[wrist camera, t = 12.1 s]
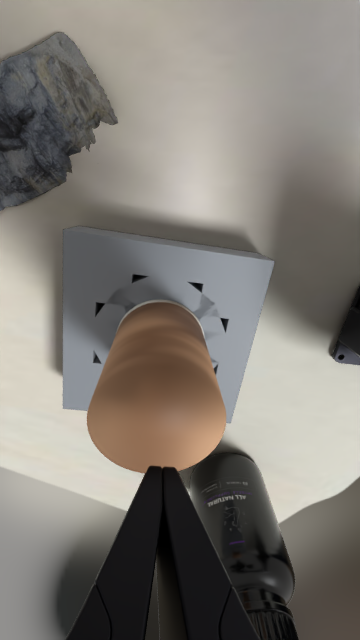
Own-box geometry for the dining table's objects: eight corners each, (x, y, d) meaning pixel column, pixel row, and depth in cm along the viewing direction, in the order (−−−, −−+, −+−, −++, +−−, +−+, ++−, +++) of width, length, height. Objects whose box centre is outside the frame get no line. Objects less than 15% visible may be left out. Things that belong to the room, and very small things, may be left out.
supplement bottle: (221, 437, 25) (266, 619, 14) (273, 470, 27) (349, 654, 16) (173, 482, 27) (179, 674, 16) (225, 510, 29) (262, 699, 18)
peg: (205, 293, 20) (241, 370, 11) (192, 362, 22) (212, 478, 13) (125, 282, 19) (88, 353, 10) (118, 354, 21) (83, 470, 12)
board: (258, 253, 19) (274, 261, 17) (222, 397, 24) (230, 423, 21) (78, 225, 18) (63, 229, 15) (75, 383, 22) (62, 408, 20)
